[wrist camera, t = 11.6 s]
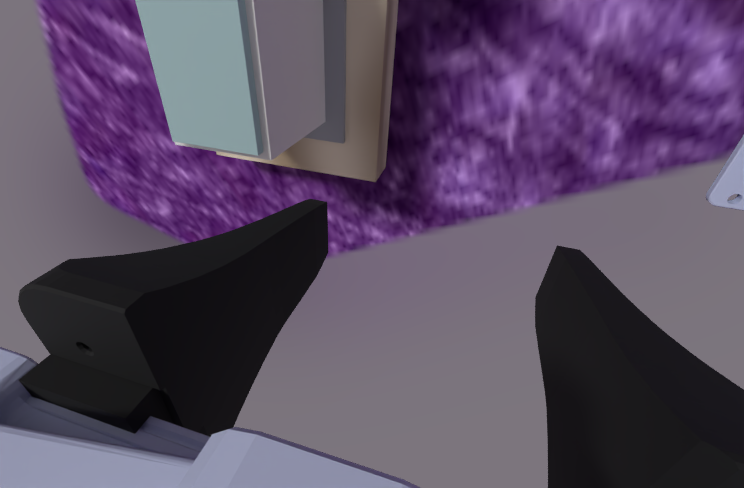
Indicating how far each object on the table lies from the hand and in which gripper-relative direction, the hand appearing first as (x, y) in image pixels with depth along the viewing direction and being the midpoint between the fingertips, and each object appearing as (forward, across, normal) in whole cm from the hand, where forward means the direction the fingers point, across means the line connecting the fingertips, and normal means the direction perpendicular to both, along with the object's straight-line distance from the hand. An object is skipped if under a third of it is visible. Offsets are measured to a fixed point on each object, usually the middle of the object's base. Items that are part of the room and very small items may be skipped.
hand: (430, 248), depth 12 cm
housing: (+8, +9, -5) cm, 13 cm away
